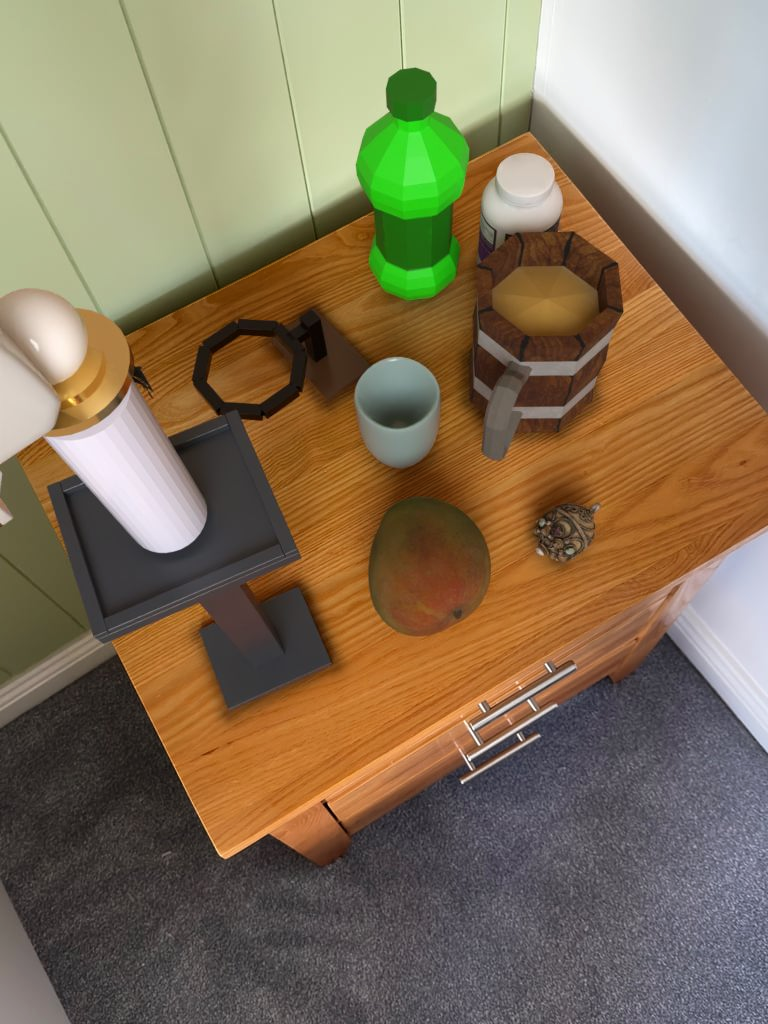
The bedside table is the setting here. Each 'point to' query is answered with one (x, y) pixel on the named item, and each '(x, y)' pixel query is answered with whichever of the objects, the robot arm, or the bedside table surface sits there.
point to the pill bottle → (518, 201)
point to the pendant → (565, 531)
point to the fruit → (427, 566)
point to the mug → (540, 333)
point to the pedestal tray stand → (201, 567)
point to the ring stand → (306, 349)
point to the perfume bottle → (106, 419)
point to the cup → (398, 411)
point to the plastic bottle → (413, 188)
